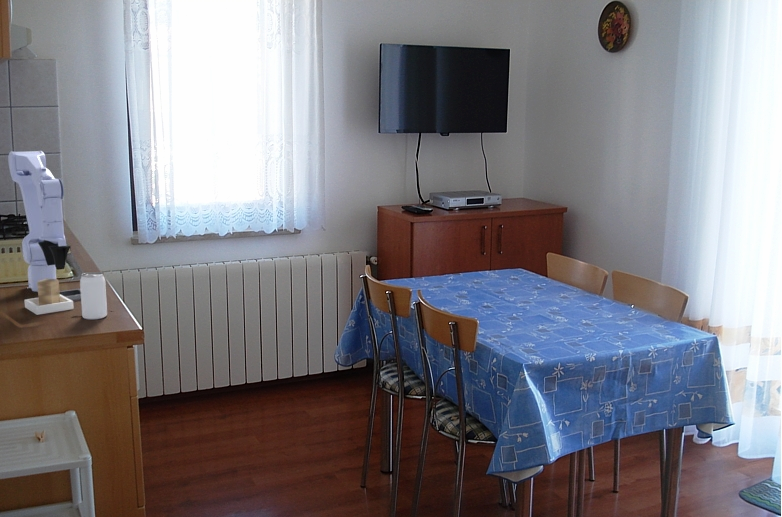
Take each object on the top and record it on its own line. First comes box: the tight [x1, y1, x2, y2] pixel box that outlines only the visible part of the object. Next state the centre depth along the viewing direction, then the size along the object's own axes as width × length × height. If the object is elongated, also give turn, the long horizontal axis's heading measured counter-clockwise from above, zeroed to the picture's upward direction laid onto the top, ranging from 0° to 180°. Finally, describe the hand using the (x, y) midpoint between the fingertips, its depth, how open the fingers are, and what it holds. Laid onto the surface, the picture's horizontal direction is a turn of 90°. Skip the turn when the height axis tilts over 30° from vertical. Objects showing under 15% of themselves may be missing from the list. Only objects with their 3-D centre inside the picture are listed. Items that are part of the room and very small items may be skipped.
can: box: [79, 271, 108, 321], centre depth 219 cm, size 6×6×12 cm
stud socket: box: [59, 288, 81, 302], centre depth 237 cm, size 9×9×2 cm
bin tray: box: [24, 294, 75, 315], centre depth 225 cm, size 10×10×3 cm
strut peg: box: [37, 278, 60, 306], centre depth 225 cm, size 4×4×8 cm
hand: (55, 267), depth 233 cm, fingers open, 7 cm apart
